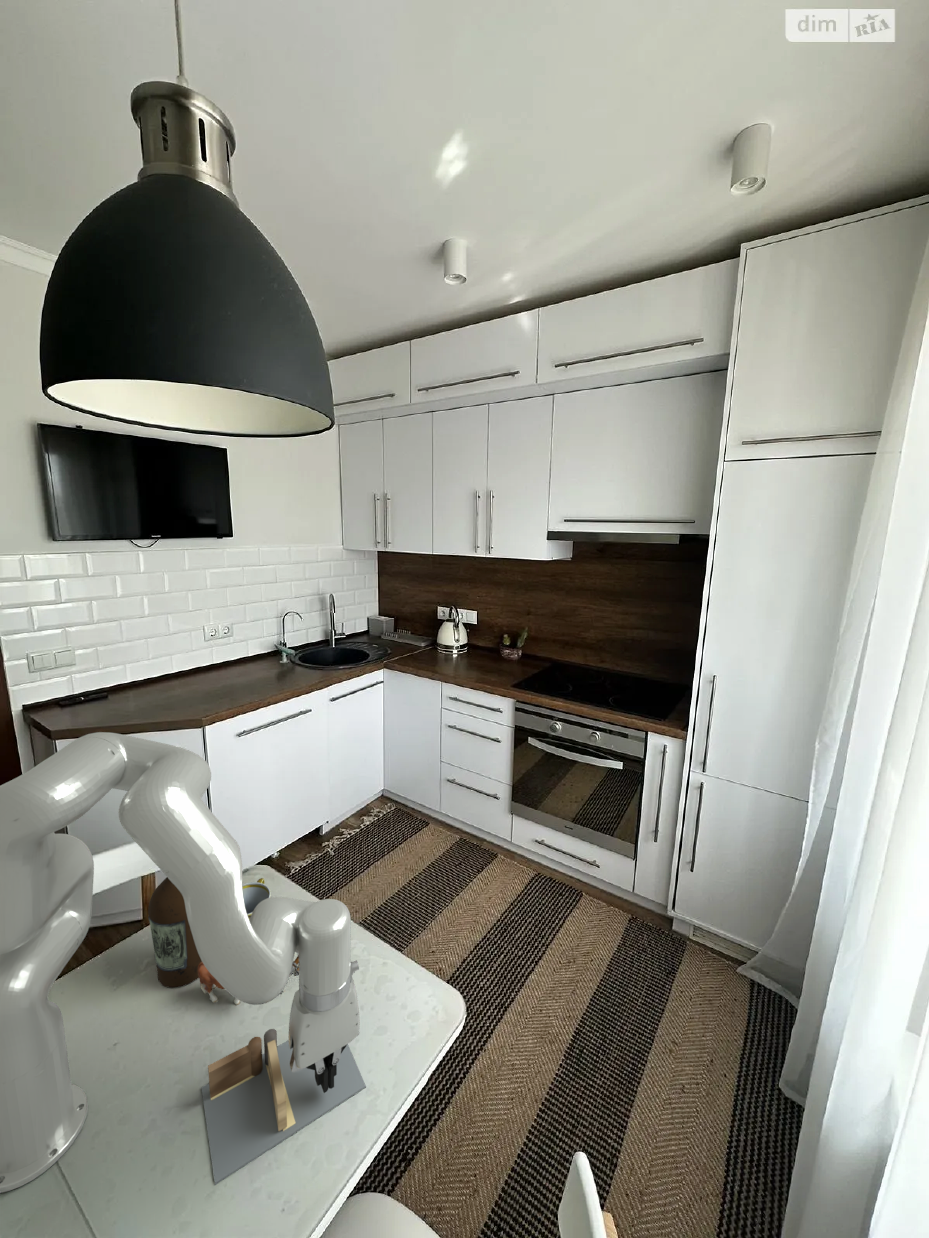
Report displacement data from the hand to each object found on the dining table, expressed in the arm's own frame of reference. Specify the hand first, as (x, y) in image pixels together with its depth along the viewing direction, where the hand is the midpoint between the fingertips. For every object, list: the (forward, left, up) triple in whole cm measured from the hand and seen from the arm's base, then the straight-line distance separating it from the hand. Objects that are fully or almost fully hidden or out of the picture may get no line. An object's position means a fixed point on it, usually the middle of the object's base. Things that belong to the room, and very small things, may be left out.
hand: (325, 1081), depth 78 cm
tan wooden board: (-7, +4, -2) cm, 8 cm away
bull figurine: (-9, +25, -3) cm, 27 cm away
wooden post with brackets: (+1, +24, -3) cm, 24 cm away
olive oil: (-16, +37, -3) cm, 41 cm away
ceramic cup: (-3, +39, -3) cm, 40 cm away
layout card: (-5, +4, -2) cm, 7 cm away
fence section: (-12, +9, -2) cm, 15 cm away
